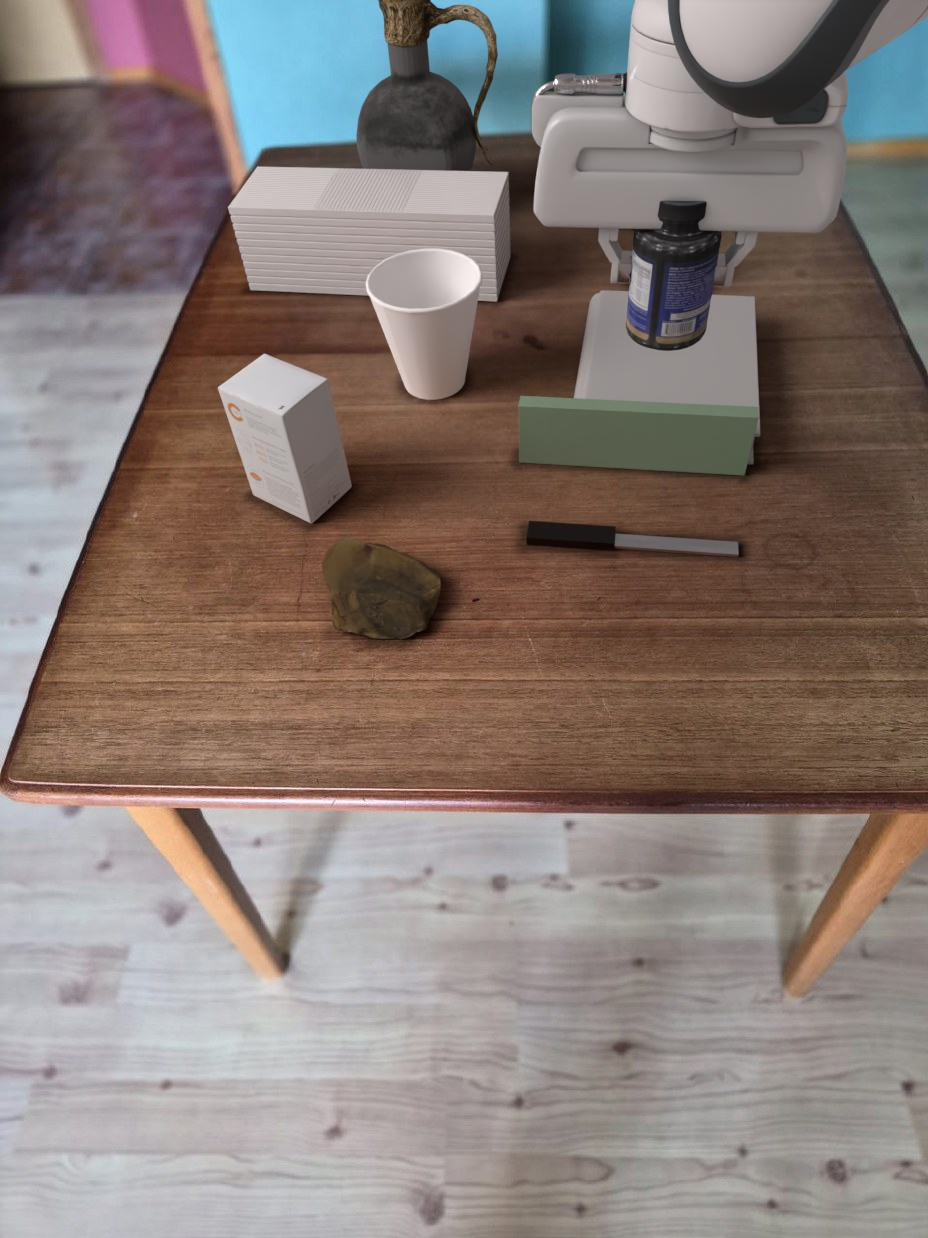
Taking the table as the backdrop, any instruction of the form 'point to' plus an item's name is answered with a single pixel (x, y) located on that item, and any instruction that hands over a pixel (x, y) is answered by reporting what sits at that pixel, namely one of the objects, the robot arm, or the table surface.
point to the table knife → (620, 540)
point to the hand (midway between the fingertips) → (670, 281)
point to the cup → (427, 316)
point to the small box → (287, 436)
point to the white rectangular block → (671, 358)
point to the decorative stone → (378, 590)
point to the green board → (636, 434)
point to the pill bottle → (672, 278)
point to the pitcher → (421, 96)
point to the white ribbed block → (366, 224)
